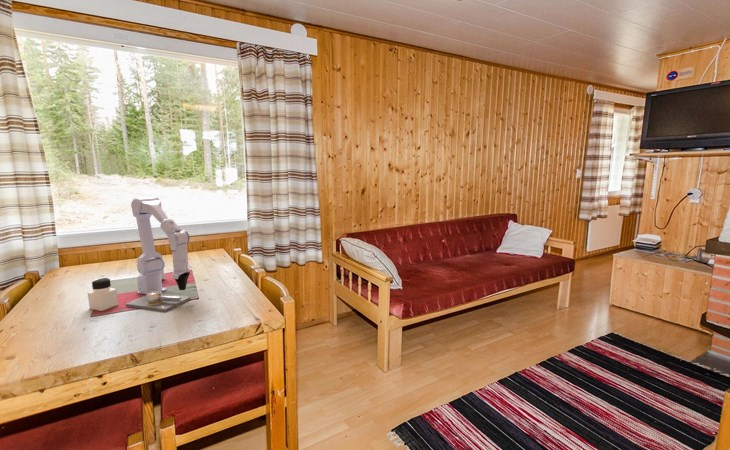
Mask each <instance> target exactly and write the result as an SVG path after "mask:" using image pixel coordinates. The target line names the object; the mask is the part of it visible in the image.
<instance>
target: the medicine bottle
mask: <svg viewBox="0 0 730 450" xmlns="http://www.w3.org/2000/svg"><path fill="white" fill-rule="evenodd" d="M111 284H112V283H111V279H110V278H108V277H100V278H96V279H94V280H93V281H91V286H92V290H91V291H88V292H87V299H88V307H89V309H90V310H95V311H99V312H104V311H105V310H106V311H107V310H108V309H111V308H113V307H116V306H118V305H119V299H118V292H117V291H118V290H117V289H116V288H112V287H111Z"/></svg>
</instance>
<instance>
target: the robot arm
mask: <svg viewBox="0 0 730 450" xmlns="http://www.w3.org/2000/svg"><path fill="white" fill-rule="evenodd" d="M130 205H131V212H132V216H133V217H134V218H135V219H136V224H137V229H138V230H137V231H138V236H139V240H140V247H141V251H142V252H141V253H142V254H141V255H139V257H137V259H136V262H137V264H136V268H137V272H138V273H139V275H138V276H137V279H136V280H137V290H138V291H137V292H136V294H142V295H147V293H148V292H151V291H162V292H164V291H167V290H168V288H165V287H163V282H162V280H163V279H162V280H161V272H162V270H163V269H164V270H165V267H166V266H165V264H166V263H165V260H164V258H163V255H162V254H161V253H159V252H157V251H156V246H155V241H154V235H153V231H152V230H153V229H152V225H151V223H152V222H151V219H150V218H151V217H152V216H153V217H154V218H155V219H156V221H158V222H159V223H160V229H161V230H162V231H163V233H164V234H165V235H166V236H167V241H168V244H169V247H170V250H171V252H172V255H171V256H172V266H173V270H172V275H171V276H172V280H174V281H175V282H176V284H177V287H178V290H179V291H185V290H186V289H187V283H188V280H189V277H190V274H191V271H192V268H191V267H190V264H189V256H188V244H189V243H190V240H191V239H190V238H191V237H190V234H189V232H188V231H187V230H185V229H181V228H180V226H179V225H178V224H177V222H175V221H174V219H172V218H168V216H167V214H166V213H165V211H164V210H163V208H162V202H161V200H160V199H159V197H158V196H147V197H134V198H133V199H132V201H131V203H130ZM151 258H154V259H151ZM147 259H149V260H147Z"/></svg>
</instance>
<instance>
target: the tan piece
mask: <svg viewBox="0 0 730 450" xmlns="http://www.w3.org/2000/svg"><path fill="white" fill-rule="evenodd" d="M162 293H163V291H151V292H148V293H147V294H146V295H147V303H149V304H154V303H159V302H161V301H169V302H180V301H181V297H176V296H162Z"/></svg>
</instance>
